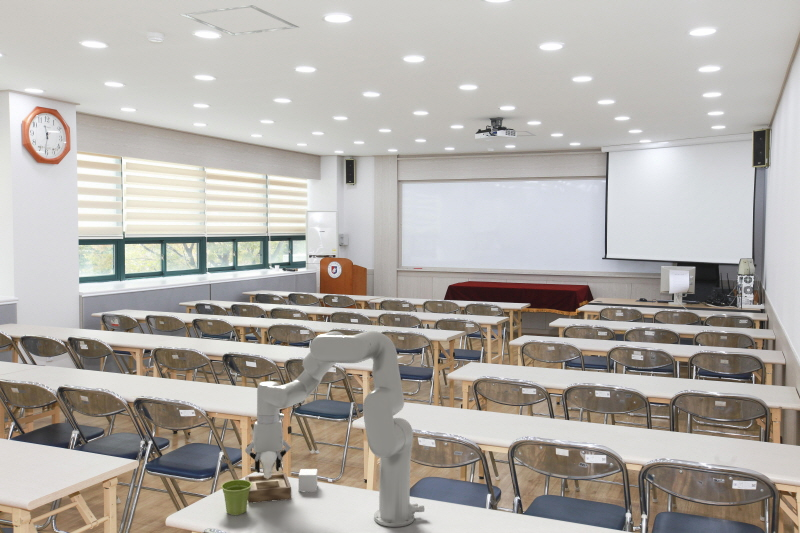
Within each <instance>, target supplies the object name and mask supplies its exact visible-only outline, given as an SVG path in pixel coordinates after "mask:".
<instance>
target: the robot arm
mask: <svg viewBox="0 0 800 533" xmlns="http://www.w3.org/2000/svg"><path fill="white" fill-rule="evenodd" d="M309 347H310V348H309V351H310V352H309V353H308V354H307V355H306V356H305V357H304V358H303V360H302V367H303V369H304V370H303V371H302V372H301V373H300V374H299V375H298V376H297V377H296V378H295V379H294V380H293V381H291V382H288V383H285V384H281V385H280V384H279V383H278V382H276V381H274V380H273V381H271V380H269V381H268V380H267V381H261V382H259V383H258V385H257V387H256V388H257V390H256V400H257V401H256V421H255V422H254V424H253V430H252V441H251V443H250V444H248V445H247V447H245V449H244V451H245V453H246V454H247V455H249V456H250V458H252V459H253V460H254V470H256V472H257V473H258V474H259V473H260V472H261V470H260V469H261V466H260V465H261V462H260V460H259V457H260V454H261V453H264V452H267V451H271V452H276V454H277V459H276V461H275V469H276V471H277V472H279V471H280V469H281V467H282V466H281V465H282V459H283V457H284V456H285V455H286V453H288V452H289V451H290V450H291V445H290V444H289V443H288V442H287V441H286V440H285V439H284V432H283V425H282V419H284V417H285V415H284V413H283V414H282V413H280V412H281V411H280V409H288V408H289V407H292V406H294V405H297V404H300V403H302V402H304V401H305V400H307V398H308V397H310V395H311V394H312V393H314V391H315V390H316V389H317V388H318V387H319V386H320V383H321V382H322V380H323V378H324V376H325V375H326V374H327V373H328V371H330V370H331V368H333V366H334V365H336V364H359V363H362V362H364V361H365V362H366V361H368V360H370V359H371V360H372V368H371V369H372V371H371V372H372V380H373V386H374V387H373V390H371V391H370V392H368V394H366V396H365V398H364V400H363V404H362V414H363V420H364V421H363V422H364V428H365V434H366V440H367V445H368V447H369V450H370V451H371V452H372V454H373V455H374V456H375V457H377V458H378V459H379V486H378V487H379V490H378V491H379V496H378V498H379V499H378V500H379V505H378V510H377V511H376V512H375V513H374V515H373V519H374V521H375V523H377V524H379V525H381V526H384V527H388V528H389V527H390V528H391V527H392V528H400V527H406V526H408V525H410V524H412V523H413V522H414V521H415V513H424V512H425V505H419V504H418V503H410V499H411V498H410V495H411V494H410V492H411V459H412V458H411V456H412V449H413V442H414V431H413V428H412V425H411V424H410V423H409V421H407V420H406V419H405V418H402V417H394V416H395V415H397V414H398V413H400V412H401V411H402V410H403V408H404V407H405V406H404V405H405V396H404V392H403V385H402V379H401V378H402V377H401V374H400V368H399V367H400V366H399V360H398V353H397V348H396V346H395V344H394V341H392V339H391V338H390V337H388V335H386V334H384V333H382V332H380V331H374V330H371V331H364V332H360V333H356V334H353V335H345V334H344V333H342V332H340V331H336V330H335V331H329V332H326V333H322V334H319V335H317V336H315V337H314V338H313V340H312V341H311V343H310V346H309ZM252 449H253V451H252Z"/></svg>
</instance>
